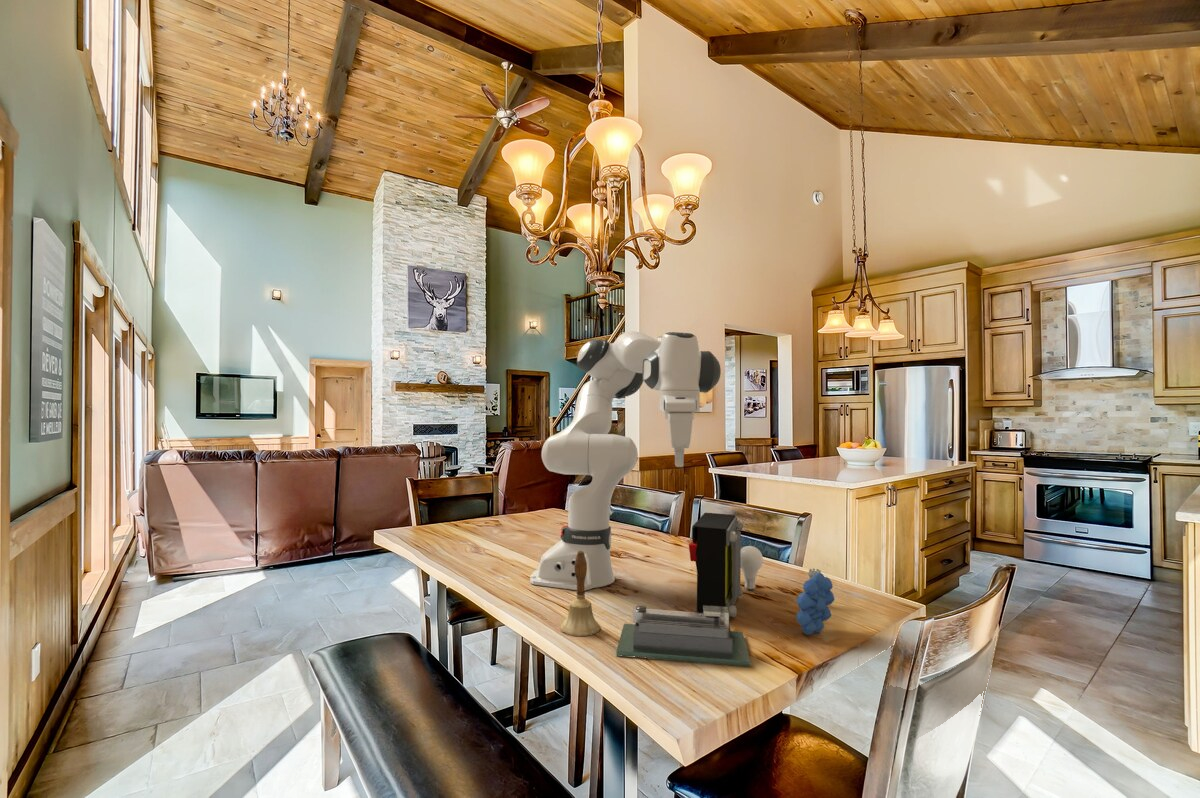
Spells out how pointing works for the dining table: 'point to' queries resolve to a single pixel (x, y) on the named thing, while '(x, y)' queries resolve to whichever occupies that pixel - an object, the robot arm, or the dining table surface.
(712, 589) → the electrical component
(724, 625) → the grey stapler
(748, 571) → the lightbulb
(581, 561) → the hand bell
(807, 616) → the grapes
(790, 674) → the dining table surface
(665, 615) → the grey metal bar
